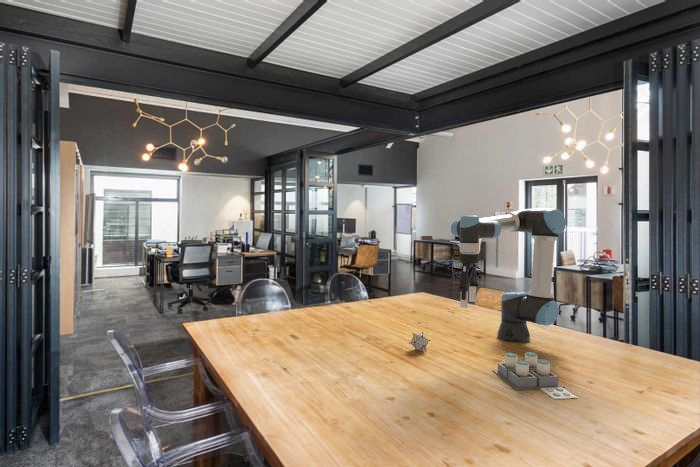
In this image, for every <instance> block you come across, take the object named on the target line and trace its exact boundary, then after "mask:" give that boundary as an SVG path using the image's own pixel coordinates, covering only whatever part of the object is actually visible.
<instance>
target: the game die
mask: <svg viewBox="0 0 700 467" xmlns="http://www.w3.org/2000/svg"><path fill="white" fill-rule="evenodd" d="M412 335H413V336H412V337H411V340H410V342H408V344H411V346H412V347H413V348H414V350H415V352H416V353H417V352H418V351H427V346H428V344H429V342H431V339H428V338H427V337H426V336H425V335H424V331H422V333H414V332H412Z"/></svg>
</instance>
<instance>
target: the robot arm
mask: <svg viewBox="0 0 700 467" xmlns="http://www.w3.org/2000/svg"><path fill="white" fill-rule="evenodd" d="M564 230H566V218H565V216H564V214H563V212H562V211H561V210H560V209H558V208H550V207H545V208H543V207H542V208H525V209H521V210H516V211H511V212H510V211H509V212H507V213H505V214H504V215H495V216H490V217H489V216H488V217H482V218H480V216H478V215H462V216H461V217H460V219H459V220H455V221H453V222H452V223H451V226H450V232H451V234H452V236H454V237H457V238H459V244H458V247H459V252H460V253H459V263H461V264H463V266H462V265H461V272H460V279H459V286H458V290H457V291H458V292H460V295H459V296H460V301H459V303H460V304H459V305H460V306H459V308H461V309H468V305H469V303H468V302H471V303H476V302H477V287H479V284H478V276H477V268H476V267H477V264H479V262H480V261H479V259H480V258H479V257H480V255H479V252H480V243H479V242H480V239H495V238H496V239H497V238H498V237H499V236H500V235H501V232H507V231H508V232H510V233H513V232H515V233H516V232H517V233H518V232H520V233H521V232H522V233H527V234H528V233H529V234H531V235H530V236H531V237H532V239H533V240H534V242H533V255H532V268H531V281H530V290H529V291H528V292H525V291H523V292H522V291H513V292H512V291H511V292H509V291H508V292H504V293H502V295H501V303H500V304H501V305H500V306H501V308H500V309H501V310H500V311H501V313H500V314H501V320H500V321H501V322H500V324H499V327H498V330H497V335H496V337H497V338H498V339H499V340H501V341H504V342H510V343H517V344H521V343H523V344H524V343H529V342H530V341H531V334H530V331H529V329H528V324H527V322H529V323H532V324H536V325H539V326H546V327H547V326H551V325H553V324H554V323H555V322H556V320H557V319H558V317H559V313H560V307H559V304H558V302H556V301H555V296H554V295H553V294H552V292H551V291H552V281H553V268H554V254H555V242H556V241H557V240H558V239H559V236H560V234H563V232H565V231H564ZM468 289H469V290H468Z"/></svg>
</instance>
